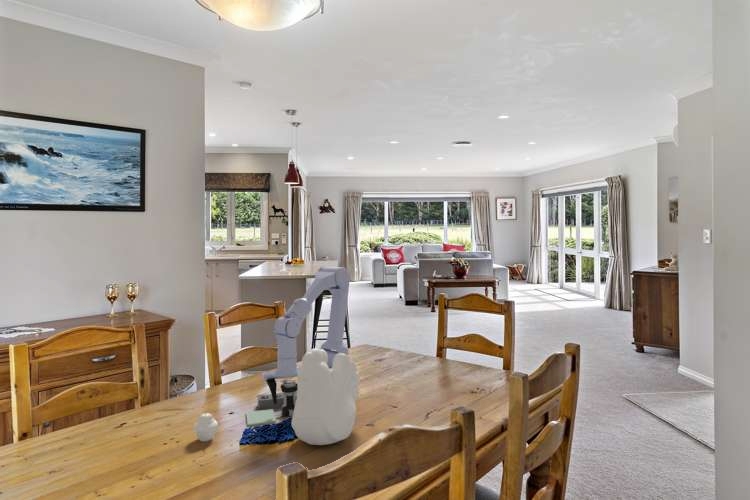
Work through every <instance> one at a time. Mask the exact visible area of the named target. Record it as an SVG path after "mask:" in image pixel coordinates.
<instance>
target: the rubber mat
mask: <svg viewBox="0 0 750 500" xmlns="http://www.w3.org/2000/svg"><path fill="white" fill-rule="evenodd" d="M245 415H246V424H247V427H254V426H261V425H262V426H263V425H270V424H277V420H276V417H275V412H274V408H273V409H265V410H259V409H258V410H251V411H246V412H245Z"/></svg>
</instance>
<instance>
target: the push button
mask: <svg viewBox="0 0 750 500" xmlns="http://www.w3.org/2000/svg"><path fill="white" fill-rule="evenodd" d="M280 389H281V393H284V404H283V406H282V407H281V408H280V409H281V410H279V411H276V413H277V414H276V416H277V417H281V416H283V418H285V417H293V414H294V413H293V411H294V408H295V404H296V395H295V392H296V391H297V390H298V384H297V383H296V381H295V380H290V379H289V380H285V381H283V384H281V385H280ZM292 393H293V395H292ZM286 394H287V395H286Z"/></svg>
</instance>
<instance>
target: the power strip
mask: <svg viewBox="0 0 750 500" xmlns="http://www.w3.org/2000/svg"><path fill="white" fill-rule="evenodd" d="M286 395H287V394H286ZM292 395H293V393H292ZM295 395H296V399H297V391H295ZM276 398H277V404H274V403H273V398H272V394H271V393H269V394H260V395H257V407H258V411H259V410H268V409H273V410H274V409H281V407H282V406H283V404H284V392H279V393H277V392H276Z"/></svg>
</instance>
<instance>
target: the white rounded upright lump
mask: <svg viewBox="0 0 750 500" xmlns="http://www.w3.org/2000/svg"><path fill="white" fill-rule="evenodd" d="M320 349H321V348H317V347H315V348H311V349H310V350H308V352H306V353H304V354H303V356H302V359H301V364H299V367H298V368H299V369H298V374H297V377H296V379H297V384H298V390H297V399H296V404H295V408H294V411H293V413H294V414H293V416H291V417H292V418H291V428H292V429H293V430H294V434H295V436H296V437H297V438H298V439H299V440H301V441H303V442H305V443H306V444H308V445H311V446H312V445H313V446H314V445H315V446H316V445H317V446H325V445H331V444H334V443H339V442H340V441H343V440H345V439H347V438H348V437H349V436H350V435H351V433H352V430H353V428H354V426H355V421H356V412H357V407H356V402H357V400H358V397H359V392H360V391H359V390H360V388H359V385H360V374H359V373H358V372H357V371H358V368H357V366H356V362H355V361H354V360H352V359H351V357H350V356H349V354H348V355H346V354H343V353H338V354H336V355H335V356H334V359H333V364H332V368H330V369H329V367H328V365H327V361H328V355H327V352H326V351H325V350H323V349H321V350H320Z"/></svg>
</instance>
